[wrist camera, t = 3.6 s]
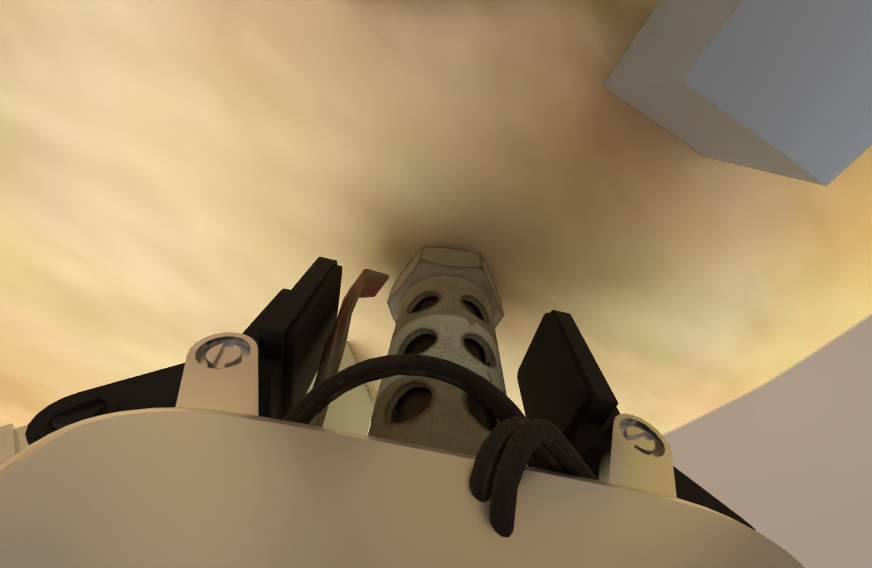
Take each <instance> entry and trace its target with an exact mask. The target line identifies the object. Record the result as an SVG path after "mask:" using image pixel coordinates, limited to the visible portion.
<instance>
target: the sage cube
mask: <svg viewBox="0 0 872 568" xmlns="http://www.w3.org/2000/svg"><path fill="white" fill-rule="evenodd" d="M354 364H357V363H356V361H355V359H354V356H353V354H352V351H351V349H350V347H349V344H348V342H347V341H346V346H345V349H344V353H343V357H342V360H341V364H340V367H339V371H338V372H340V371H342V370H343V369H345V368H347V367H349V366H352V365H354ZM317 372H318V371H317ZM316 376H317V373H316V375H315V377H314V379H313V381H312V383H311V385H310V387H309V389H308V391H307V393H308V392H310V391H311V390H312V388H313V385H314V382H315V379H316ZM307 393H306V394H307ZM373 410H374V404H373V402H372V399H371V397H370V395H369V392H368V390H367V387H366V385H365V384H362V385H360V386H358V387H356V388H354V389H352V390H350V391H348V392H346V393H344V394H343V395H341V396H340V397H338V398H337V399H335V400H334V401H332V402H331V403H330V404H329V406H328V410H327V413H326V417H325V420H324V423H323V427H324V428H330V429H335V430H340V431H346V432H351V433H356V434H362V435H367V433H368V429H369V425H370V421H371V417H372V414H373Z"/></svg>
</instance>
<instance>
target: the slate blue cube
mask: <svg viewBox="0 0 872 568" xmlns="http://www.w3.org/2000/svg"><path fill="white" fill-rule="evenodd" d="M603 87H604V88H606V89H607V90H609V91H610V92H612V93H613V94H614V95H616V96H617V97H619V98H620V99H622V100H623V101H625V102H626V103H627V104H629V105H630V106H632V107H633V108H635V109H636V110H638V111H639V112H641V113H642V114H643V115H645V116H646V117H648V118H649V119H651V120H652V121H654V122H655V123H656V124H658V125H659V126H661V127H662V128H664V129H665V130H667V131H668V132H669V133H671V134H672V135H674V136H675V137H677V138H678V139H680V140H681V141H682V142H684V143H685V144H687V145H688V146H690V147H691V148H693V149H694V150H696V151H697V152H698V153H700V154H701V155H703V156H704V157H708V158H712V159H716V160H720V161H724V162H728V163H733V164H737V165H741V166H745V167H749V168H754V169H758V170H762V171H766V172H770V173H774V174H779V175H783V176H787V177H791V178H795V179H800V180H804V181H808V182H812V183H816V184H820V185H825V186H827V185H828V184H829V183H830V182H831V181H832V180H833V179H834V178H835V177H836V176H838V175H839V174H840V173H841V172H842V171H843V170H844V169H845V168H846V167H847V166H849V165H850V164H851V163H852V162H853V161H854V160H855V159H856V158H857V157H858V156H860V155H861V154H862V153H863V152H864V151H865V150H866V149H867V148H868V147H869V146H870V145H872V0H660V1H659V3H658V4H657V6H656V7H655V9H654V10H653V12H652V13H651V15H650V16H649V18H648V19H647V21H646V22H645V24H644V25H643V27H642V28H641V30H640V31H639V32H638V34H637V35H636V37H635V38H634V40H633V41H632V43H631V44H630V46H629V47H628V49H627V50H626V52H625V53H624V55H623V56H622V58H621V59H620V61H619V62H618V64H617V65H616V67H615V68H614V70H613V71H612V73H611V74H610V76H609V77H608V78H607V80H606V81H605V83H604V84H603Z"/></svg>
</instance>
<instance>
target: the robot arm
mask: <svg viewBox="0 0 872 568" xmlns="http://www.w3.org/2000/svg"><path fill="white" fill-rule="evenodd" d="M341 277H342V266H339V265H337V261H336V260H331V259H327V258H323V257H319V258H318V259H317V260H316V261H315V262H314V263H313V265H312V266H311V267H310V268H309V269H308V271H307V272H306V273H305V274H304V275H303V276H302V278H301V279H300V280H299V281H298V282H297V284H296V285H295V286H294V287H293V288H292V290H289V289H282V290H281V291H280V292H279V293H278V294H277V295H276V296H275V298H274V299H273V300H272V301H271V302H270V303H269V304H268V305H267V307H266V308H265V309H264V310H263V311H262V312H261V313H260V314H259V315H258V317H257V318H256V319H255V320H254V321H253V322H252V323H251V324H250V326H249V327H248V328H247V329H246V330H245V331H244V332H243V333H242V334H240V333H230V332H225V333H219V334H214V335H211V336H208V337H205V338H203V339H202V340H200V341H198V342H196V343H195V344H194V345H193V346H192V347H191V348H190V350H189V352H188V354H187V357H186V362H185V363H183V364H179V365H176V366H172V367H168V368H165V369H161V370H158V371H154V372H150V373H147V374H143V375H140V376H136V377H132V378H129V379H125V380H122V381H118V382H114V383H111V384H107V385H104V386H100V387H96V388H93V389H89V390H86V391H82V392H78V393H76V394H73V395H70V396H67V397H64V398H62V399H60V400H58V401H56V402H54V403H52V404H51V405H49V406H47V407H46V408H45V409H43V410H42V411H41V412H39V413H38V414H37V415H36V416H35V417H34V418H33V419H32V421H31V422H30V423H29V424H28V425H26V426H23V427H20V428H17V429H15V427H14V426H13V424H9V425H6V426H3V427H0V568H804V566H803V565H802V564H801V563H800V562H799V561H797V560H796V559H795V558H794V557H793V556H792V555H791V554H789V553H788V552H787V551H786V550H784V549H783V548H781V547H780V546H779V545H777V544H776V543H774V542H773V541H771V540H770V539H768V538H767V537H765V536H764V535H762V534H760V533H759V532H757V531H756V530H755V529H754V528H753V527H752V526H751V525H750V524H748V523H747V522H746V521H744V519H742V518H741V517H740V516H738V515H737V514H736V513H734V512H733V511H732V510H730V509H729V508H728V507H727V506H725V505H724V504H722V503H721V502H720V501H719V500H717V499H716V498H715V497H713V496H712V495H711V494H709V493H708V492H707V491H705V490H704V489H703V488H702V487H700V486H699V485H697V484H696V483H695V482H693V481H692V480H691V479H689V478H688V477H687V476H685V475H684V474H683V473H682V472H680V471H679V470H678V469H676V468H675V467H673V461H672V452H671V449H670V446H669V444H668V443H667V441H666V439H665V438H664V437H663V436H662V434H661V433H660V432H659V431H658V430H657V429H656V428H654V427H653V426H652V425H651V424H649V423H648V422H646V421H644V420H643V419H641V418H639V417H636V416H634V415H630V414H620V412H619V411H618V409H617V407H616V406H617V405H618V402H617V400H616V398H615V396H614V394H613V392H612V390H611V389H610V387H609V385H608V383H607V381H606V379H605V377H604V376H603V374H602V372H601V370H600V368H599V366H598V364H597V363H596V361H595V359H594V357H593V355H592V353H591V351H590V350H589V348H588V346H587V344H586V342H585V340H584V338H583V337H582V335H581V333H580V331H579V329H578V327H577V325H576V324H575V322H574V320H573V318H572V316H571V315H570V314H569V313H565V312H560V311H556V310H552V311H551V312H550V313H546V314H545V315H544V316H543V318H542V321H541V323H540V325H539V327H538V329H537V331H536V333H535V336H534V338H533V340H532V342H531V344H530V346H529V348H528V350H527V353H526V355H525V357H524V359H523V361H522V363H521V365H520V368H519V370H518V375H517V379H518V384H519V388H520V393H521V397H522V402H523V406H524V410H525V415H526V418H528V419H530V420H533V419H535V418H538V419H544V420H548V421H551V422H552V423H553V424H554V425H556V426H557V427H558V428H559V429H560V431H561V432H562V433H563V435H564V436H565V437H566V439H567V440H568V441H569V442H570V444H571V445H572V446H573V448H574V449H575V450H576V451H577V453H578V454H579V455H580V457H581V458H582V459H583V461H584V462H585V463H586V464H587V466H588V467H589V468H590V470H591V471H592V472H593V473H594V475H595V476H596V477H597V479H598V480H594V479H589V478H584V477H579V476H574V475H569V474H564V473H559V472H554V471H549V470H544V469H539V468H534V467H529V466H526V467H525V470H524V472H523V475H522V478H521V481H520V484H519V487H518V492H517V502H516V512H515V522H514V531H513V533H512V534H511V535H510V537H509V538H508V537H502V536H500V535H499V534H497V533H496V532H495V530H494V529H493V527H492V525H491V523H490V517H489V510H490V501H491V498H490V499H489V500H488V501H486V502H484V503H483V502H480V501H478V500H477V499H476V498H475V497H474V496H473V495H472V493H471V490H470V487H469V481H470V476H471V472H472V469H473V465H474V462H475V458H476V456H472V455H467V454H462V453H457V452H452V451H446V450H441V449H436V448H431V447H426V446H420V445H415V444H410V443H405V442H399V441H394V440H389V439H383V438H378V437H373V436H367V435H362V434H356V433H351V432H346V431H340V430H335V429H330V428H324V427H319V426H313V425H308V424H302V423H297V422H291V421H285V420H282V419H283V418H284V416H285V415H286V414H287V413H288V412H289V411H290V409H291V408H292V407H293V406H294V405H295V404H296V403H297V402H298V401H299V400H300V399H301V398H302V397H303V396H305V395H306V393H307V391H308V389H309V387H310V385H311V383H312V381H313V379H314V377H315V375H316V373H317V371H318V368H319V365H320V361H321V357H322V353H323V350H324V346H325V343H326V341H327V339H328V337H329V335H330V333H331V331H332V329H333V327H334V325H335V323H336V320H337V313H338V304H339V295H340V286H341Z"/></svg>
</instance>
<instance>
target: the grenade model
mask: <svg viewBox="0 0 872 568" xmlns="http://www.w3.org/2000/svg"><path fill="white" fill-rule="evenodd" d="M388 278H389V275H387V274H383V273H380V272H376V271H373V270H369V269H365V270H363V272H362V273H361V274H360V276H359V277H358V279H357V280H356V282H355V283H354V284H353V285H352V287H351V288H350V289H349V291H348V293H347V294H346V296H345V297H344V299H343V302H342V305H341V308H340V311H339V314H338V318H337V320H336V323H335V325H334V327H333V329H332V331H331V333H330V335H329V337H328V339H327V341H326V343H325V346H324V350H323V353H322V357H321V361H320V365H319V368H318V372H317V376H316V379H315V382H314V385H313V388H312V390H311V391H310V392H308V393H307V394H306V395H305V396H303V397H302V398H301V399H300V400H299V401H298V402H297V403H296V404H295V405H294V406H293V407H292V408H291V409H290V411H289V412H288V413H287V414H286V415H285V416H284V418H283V419H282V420H285V421H291V422H297V423H302V424H308V425H313V426H319V427H323V423H324V420H325V417H326V413H327V410H328V406H329V404H330V403H331V402H332V401H334V400H335V399H337V398H338V397H340V396H341V395H343V394H344V393H346V392H348V391H350V390H352V389H354V388H356V387H358V386H360V385H362V384H365V383H367V382H370V381H375V380H379V379H382V380H381V383H380V387H379V390H378V394H377V398H376V402H375V406H374V410H373V414H372V418H371V426H370V430H369V433H368V436H373V437H378V438H383V439H389V440H394V441H399V442H405V443H410V444H415V445H420V446H426V447H431V448H436V449H441V450H446V451H452V452H457V453H462V454H467V455H472V456H476V458H475V462H474V465H473V469H472V472H471V476H470V481H469V487H470V490H471V493H472V495H473V496H474V497H475V498H476V499H477V500H478V501H480V502H483V503H484V502H486V501H488V500H489V499H490V498H491V501H490V510H489V517H490V523H491V525H492V527H493V529H494V530H495V532H496V533H497V534H499V535H500V536H502V537H508V538H509V537H510V535H511V534H512V533H513V531H514V522H515V512H516V502H517V492H518V487H519V484H520V481H521V478H522V475H523V472H524V470H525V467H526V465H527V466H529V467H534V468H539V469H544V470H549V471H554V472H559V473H564V474H569V475H574V476H579V477H584V478H589V479H594V480H598V479H597V477H596V476H595V475H594V473H593V472H592V471H591V470H590V468H589V467H588V466H587V464H586V463H585V462H584V461H583V459H582V458H581V457H580V455H579V454H578V453H577V451H576V450H575V449H574V448H573V446H572V445H571V444H570V442H569V441H568V440H567V439H566V437H565V436H564V435H563V433H562V432H561V431H560V429H559V428H558V427H557V426H556V425H554V424H553V423H552V422H551V421H548V420H544V419H538V418H535V419H533V420H530V419H528V418H526V417H525V416H524V415H523V413H522V412H521V411H520V409H519V408H518V407H517V406H516V405H515V404H514V403H513V402H512V401H511V400H510V399H509V398H508V397H507V395H506V389H505V383H504V378H503V372H502V366H501V361H500V355H499V350H498V344H497V338H496V333H495V328H496V326H497V325H498V323H499V322H500V321H501V319H502V318H503V316H504V313H503V309H502V304H501V300H500V298H499V295H498V292H497V290H496V287H495V285H494V282H493V280H492V277H491V275H490V272H489V270H488V268H487V265H486V263H485V261H484V259H483V257H482V255H481V254H478V253H474V252H470V251H466V250H459V249H452V248H442V247H422V249H421V250H420V251H419V252H418V253H417V254H416V255H415V257H414V258H413V259H412V260H411V262H410V263H409V264H408V266H407V267H406V268H405V269H404V271H403V272H402V273H401V275H400V276H399V278H398V279H397V280H396V282H395V284H394V285H393V287H392V289H391V292H390V295H389V299H388V302H387V303H388V306H389V309H390V311H391V314H392V317H393V319H394V321H395V323H396V327H395V330H394V333H393V336H392V340H391V344H390V348H389V351H388V355H387V356H382V357H377V358H372V359H368V360H365V361H363V362H360V363H357V364H354V365H352V366H349V367H347V368H345V369H343V370H342V371H340V372H338V371H339V367H340V364H341V360H342V357H343V353H344V349H345V346H346V341H347V336H348V331H349V326H350V320H351V315H352V312H353V310H354V307H355V305H356V303H357V300H358V298H362V297H375V295H376V294H377V293H378V291H379V290H380V289H381V288H382V286H383V285H384V284H385V282H386V281H387V280H388Z"/></svg>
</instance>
